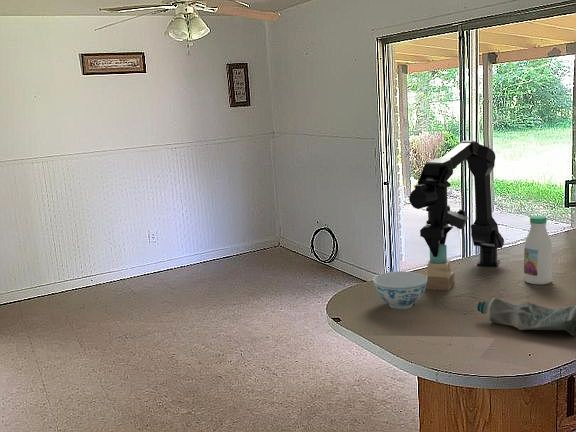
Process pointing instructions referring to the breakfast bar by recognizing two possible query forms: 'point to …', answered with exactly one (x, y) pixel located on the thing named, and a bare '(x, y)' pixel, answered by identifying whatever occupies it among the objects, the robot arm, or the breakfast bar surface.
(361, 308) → the breakfast bar surface
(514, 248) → the breakfast bar surface
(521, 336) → the breakfast bar surface
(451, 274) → the base block
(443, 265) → the top block
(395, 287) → the chinaware
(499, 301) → the crushed plastic bottle
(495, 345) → the breakfast bar surface
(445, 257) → the teal cylinder
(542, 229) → the milk bottle
